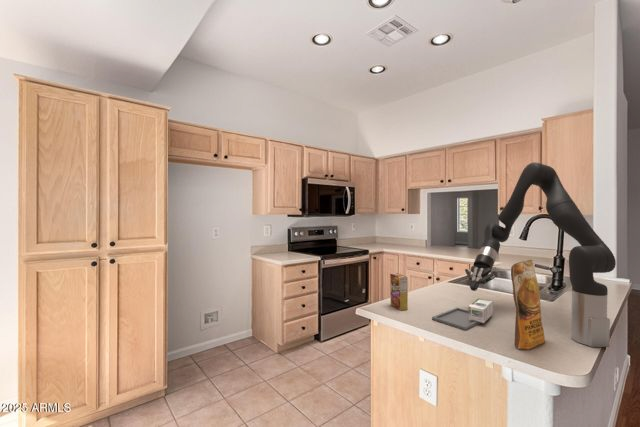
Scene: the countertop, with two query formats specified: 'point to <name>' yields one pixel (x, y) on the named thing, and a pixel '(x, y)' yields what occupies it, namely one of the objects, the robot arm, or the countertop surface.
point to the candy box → (399, 291)
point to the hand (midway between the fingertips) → (472, 289)
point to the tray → (456, 319)
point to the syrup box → (480, 310)
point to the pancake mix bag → (527, 306)
